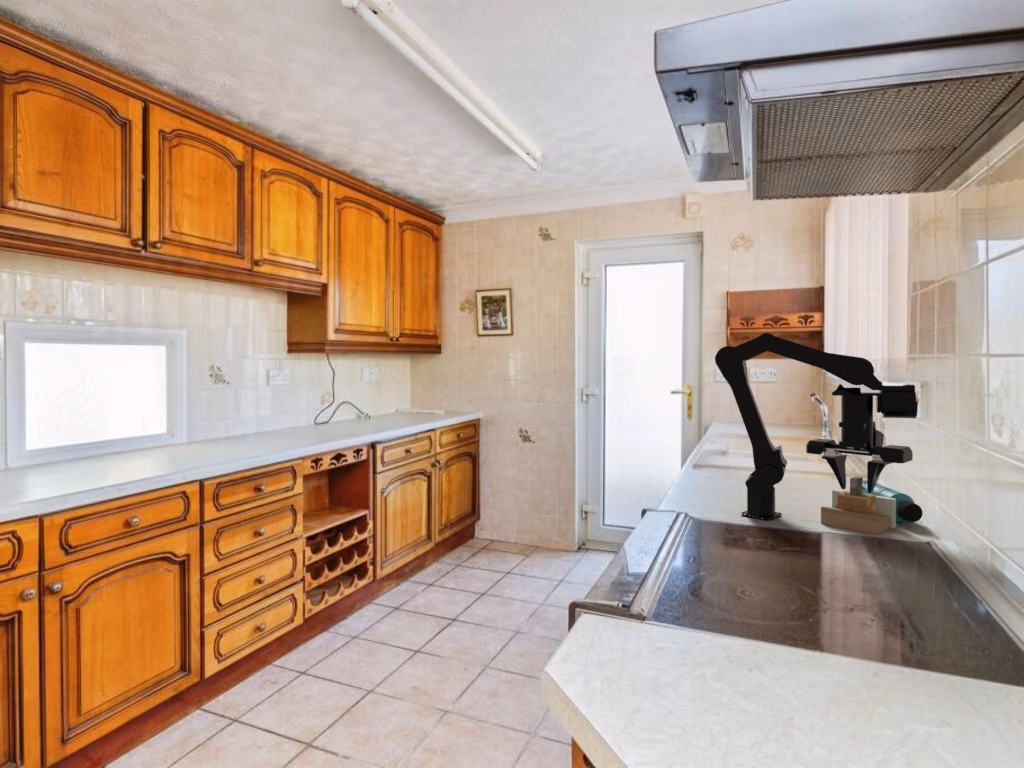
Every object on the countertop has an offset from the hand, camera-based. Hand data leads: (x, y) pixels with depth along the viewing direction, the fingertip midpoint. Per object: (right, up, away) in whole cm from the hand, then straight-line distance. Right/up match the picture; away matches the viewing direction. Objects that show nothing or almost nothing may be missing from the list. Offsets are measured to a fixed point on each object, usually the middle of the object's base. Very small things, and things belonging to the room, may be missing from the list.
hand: (856, 490), depth 123 cm
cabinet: (0, -5, 0) cm, 5 cm away
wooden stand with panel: (0, -7, 0) cm, 7 cm away
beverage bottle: (+10, -3, +17) cm, 20 cm away
